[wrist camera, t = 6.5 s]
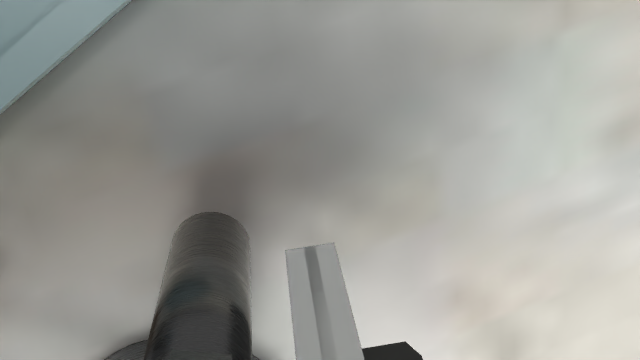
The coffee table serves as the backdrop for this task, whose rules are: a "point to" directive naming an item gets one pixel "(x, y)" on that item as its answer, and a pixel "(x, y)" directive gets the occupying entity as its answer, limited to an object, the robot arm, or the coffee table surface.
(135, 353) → the crank base
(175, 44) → the coffee table surface
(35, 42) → the tray
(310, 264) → the robot arm
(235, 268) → the crank
